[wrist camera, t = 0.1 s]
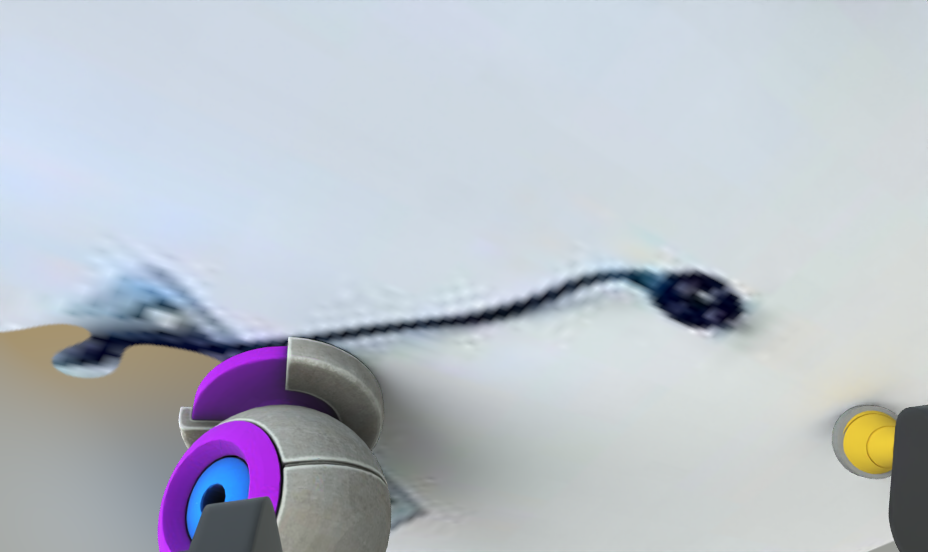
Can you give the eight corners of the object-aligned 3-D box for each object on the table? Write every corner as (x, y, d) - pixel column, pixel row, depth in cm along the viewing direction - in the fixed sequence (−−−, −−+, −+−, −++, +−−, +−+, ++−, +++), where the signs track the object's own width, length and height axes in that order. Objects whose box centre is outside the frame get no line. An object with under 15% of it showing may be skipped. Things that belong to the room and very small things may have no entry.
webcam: (293, 304, 48) (281, 521, 36) (422, 411, 55) (446, 620, 44) (140, 407, 52) (84, 633, 40) (280, 494, 59) (267, 708, 47)
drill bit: (802, 439, 64) (860, 450, 54) (847, 389, 64) (912, 391, 54) (855, 487, 63) (924, 507, 53) (899, 437, 63) (976, 447, 54)
